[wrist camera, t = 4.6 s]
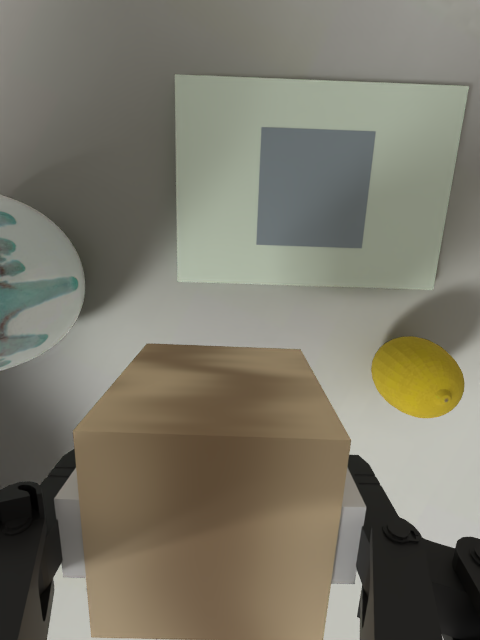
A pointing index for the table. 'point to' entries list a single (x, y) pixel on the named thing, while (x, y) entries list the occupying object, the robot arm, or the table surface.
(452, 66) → the table surface
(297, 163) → the board
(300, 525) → the oak cube
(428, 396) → the lemon
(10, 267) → the vase
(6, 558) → the robot arm
